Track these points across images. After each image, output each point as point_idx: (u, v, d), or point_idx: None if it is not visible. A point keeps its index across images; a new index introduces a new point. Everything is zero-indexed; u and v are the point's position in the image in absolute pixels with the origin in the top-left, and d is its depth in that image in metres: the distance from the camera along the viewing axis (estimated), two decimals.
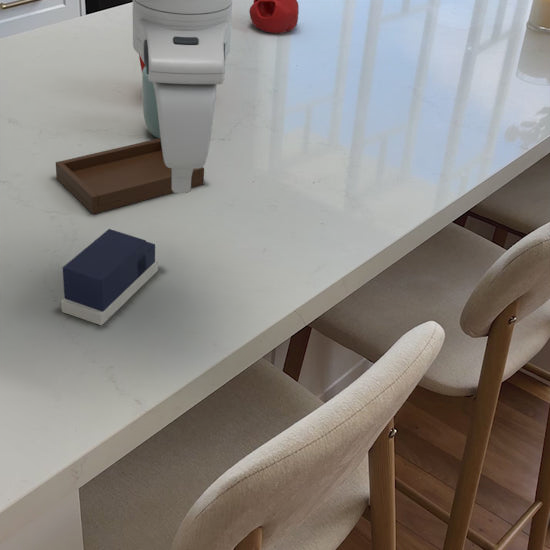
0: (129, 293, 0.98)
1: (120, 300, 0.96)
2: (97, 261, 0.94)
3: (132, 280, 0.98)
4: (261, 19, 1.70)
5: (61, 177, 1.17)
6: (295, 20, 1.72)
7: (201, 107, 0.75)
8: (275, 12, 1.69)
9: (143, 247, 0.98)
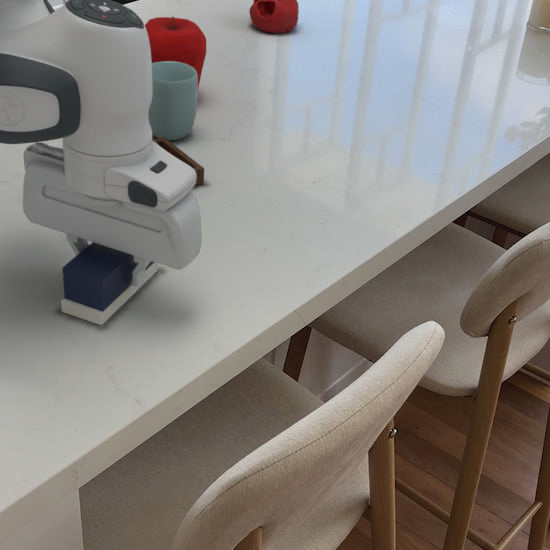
0: (129, 293, 0.98)
1: (120, 300, 0.96)
2: (97, 261, 0.94)
3: None
4: (261, 19, 1.70)
5: None
6: (295, 20, 1.72)
7: (195, 210, 0.90)
8: (275, 12, 1.69)
9: None
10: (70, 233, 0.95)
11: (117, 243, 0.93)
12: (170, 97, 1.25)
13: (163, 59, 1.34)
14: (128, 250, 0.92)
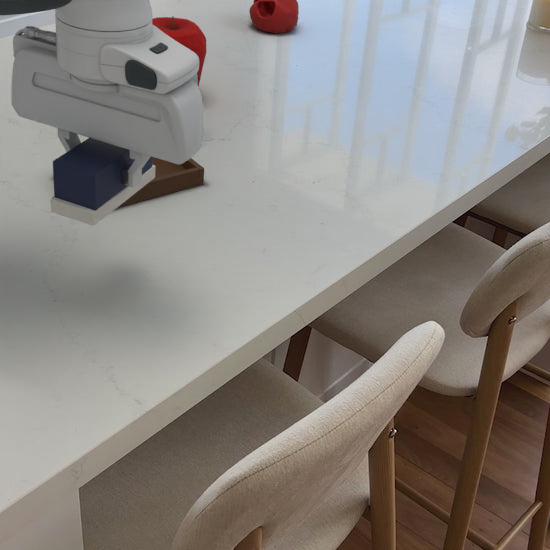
0: (124, 196, 0.91)
1: (114, 202, 0.89)
2: (90, 157, 0.87)
3: None
4: (261, 19, 1.70)
5: None
6: (295, 20, 1.72)
7: (197, 99, 0.84)
8: (275, 12, 1.69)
9: None
10: (62, 127, 0.88)
11: (112, 136, 0.86)
12: None
13: None
14: (124, 143, 0.86)
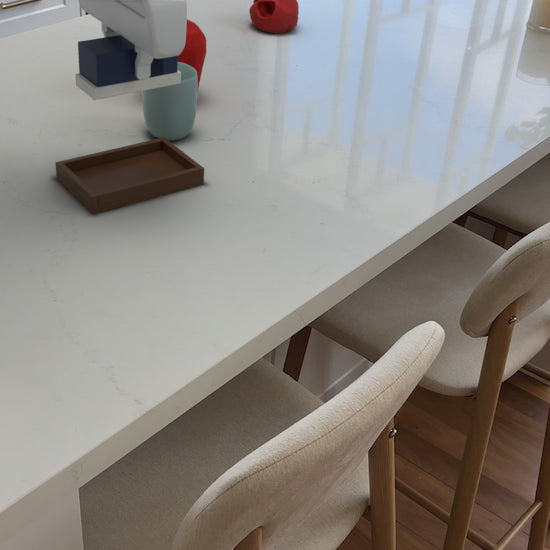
0: (136, 86, 1.08)
1: (123, 88, 1.07)
2: (108, 45, 1.05)
3: None
4: (261, 19, 1.70)
5: (61, 177, 1.17)
6: (295, 20, 1.72)
7: (179, 4, 0.97)
8: (275, 12, 1.69)
9: None
10: (100, 19, 1.07)
11: (122, 29, 1.03)
12: (170, 97, 1.25)
13: None
14: (128, 36, 1.03)
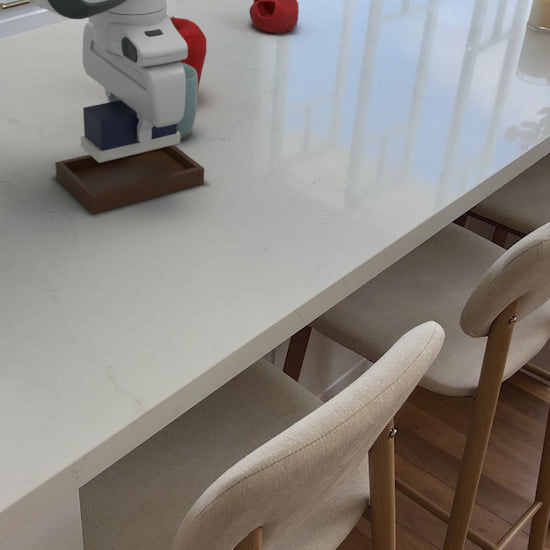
0: (138, 148, 1.15)
1: (125, 150, 1.13)
2: (112, 110, 1.12)
3: None
4: (261, 19, 1.70)
5: (61, 177, 1.17)
6: (295, 20, 1.72)
7: (178, 78, 1.04)
8: (275, 12, 1.69)
9: None
10: (103, 85, 1.14)
11: (125, 97, 1.10)
12: None
13: None
14: (130, 104, 1.09)
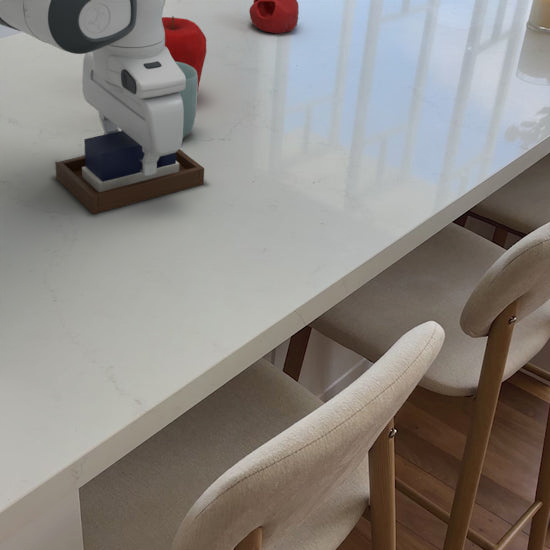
0: (138, 178, 1.17)
1: (125, 181, 1.16)
2: (112, 142, 1.15)
3: None
4: (261, 19, 1.70)
5: (61, 177, 1.17)
6: (295, 20, 1.72)
7: (176, 109, 1.06)
8: (275, 12, 1.69)
9: None
10: (103, 114, 1.16)
11: (124, 126, 1.12)
12: None
13: None
14: (129, 133, 1.12)
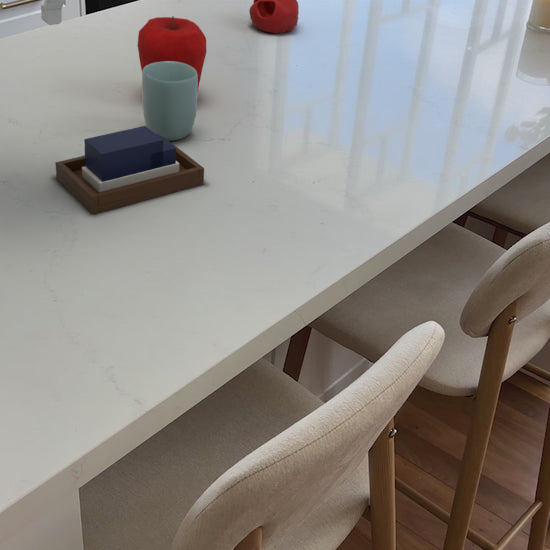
0: (138, 178, 1.17)
1: (125, 181, 1.16)
2: (112, 142, 1.15)
3: (143, 169, 1.17)
4: (261, 19, 1.70)
5: (61, 177, 1.17)
6: (295, 20, 1.72)
7: None
8: (275, 12, 1.69)
9: (158, 144, 1.16)
10: None
11: None
12: (170, 97, 1.25)
13: (163, 59, 1.34)
14: None
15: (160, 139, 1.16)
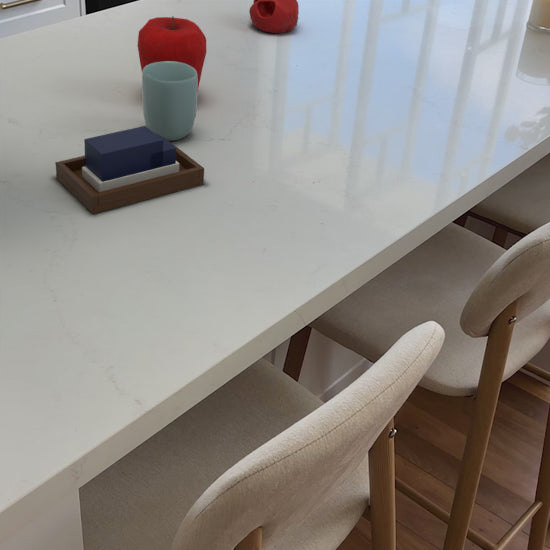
0: (138, 178, 1.17)
1: (125, 181, 1.16)
2: (112, 142, 1.15)
3: (143, 169, 1.17)
4: (261, 19, 1.70)
5: (61, 177, 1.17)
6: (295, 20, 1.72)
7: None
8: (275, 12, 1.69)
9: (158, 144, 1.16)
10: None
11: None
12: (170, 97, 1.25)
13: (163, 59, 1.34)
14: None
15: (160, 139, 1.16)
